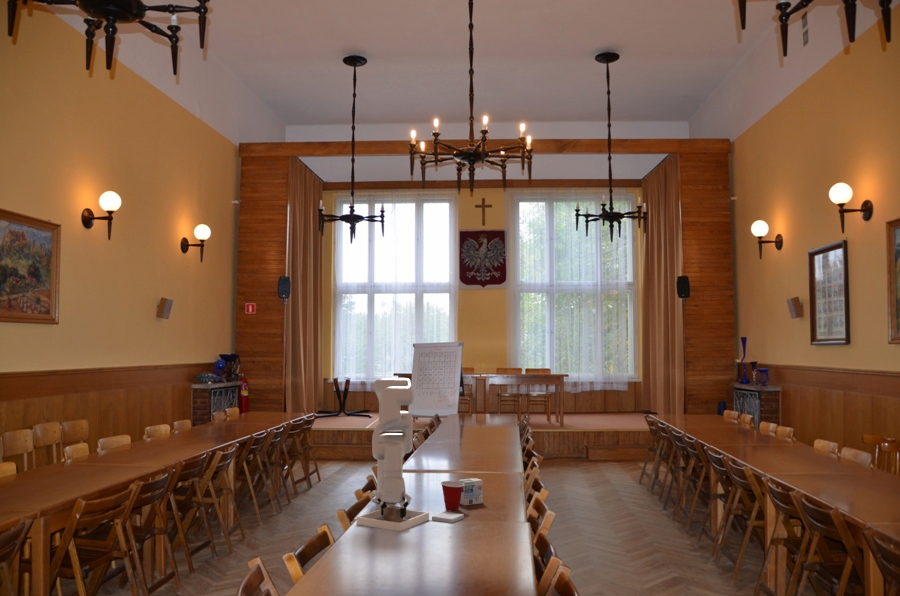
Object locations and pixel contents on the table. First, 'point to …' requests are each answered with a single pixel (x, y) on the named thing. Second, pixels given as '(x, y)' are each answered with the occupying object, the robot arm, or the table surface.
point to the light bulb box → (471, 491)
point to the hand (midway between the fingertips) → (393, 516)
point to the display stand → (448, 517)
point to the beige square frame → (371, 521)
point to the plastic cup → (452, 494)
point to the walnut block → (392, 514)
